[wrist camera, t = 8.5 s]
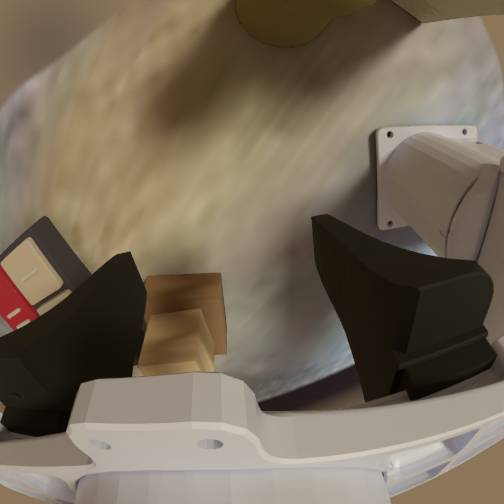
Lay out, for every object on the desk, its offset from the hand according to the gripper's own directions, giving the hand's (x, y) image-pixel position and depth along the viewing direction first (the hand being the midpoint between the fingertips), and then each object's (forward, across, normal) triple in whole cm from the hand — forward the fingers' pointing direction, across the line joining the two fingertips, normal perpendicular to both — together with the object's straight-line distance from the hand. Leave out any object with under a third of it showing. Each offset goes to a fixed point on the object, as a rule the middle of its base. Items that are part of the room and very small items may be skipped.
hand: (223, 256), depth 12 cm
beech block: (+7, +6, +10) cm, 14 cm away
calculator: (+12, +18, +8) cm, 23 cm away
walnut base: (+11, +5, +10) cm, 16 cm away
